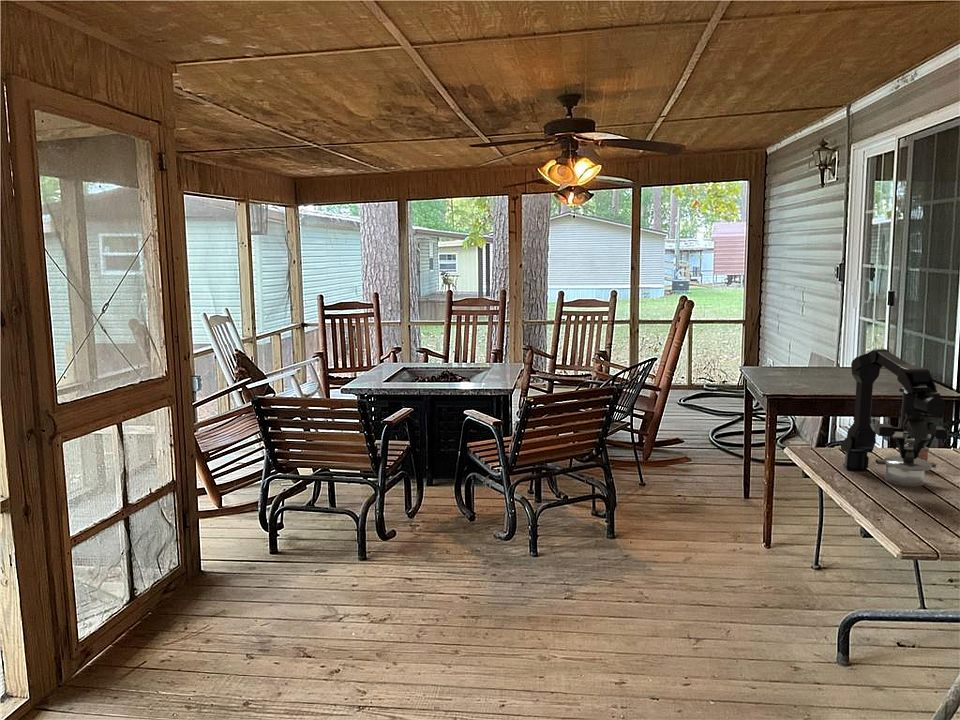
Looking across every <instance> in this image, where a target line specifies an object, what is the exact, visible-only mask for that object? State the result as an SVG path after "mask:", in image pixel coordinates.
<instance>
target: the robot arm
mask: <svg viewBox="0 0 960 720" xmlns="http://www.w3.org/2000/svg"><path fill="white" fill-rule="evenodd" d="M850 366H851V375H852V377H853V378H854V380H855V383H856V384H855V385H856V388H855V398H854V399H855V401H854V414H853V416H854V417H853V423H851V424H852V425H850V427H849V428H848V430H847V435H846V437H845V438H844V440H842V441H841V443H840V450H841V451H842V452H844V453H845V454H844V455H845V456H844V463H843V464H842V466H843V467H844V468H845V469H846V471H851V472H852V471H853V472H854V471H856V472H868V471H869V470H868V469H869V462H870V461H869V460H870V458H869V456H868V453H870V454H872V453H873V451H874V448H875V446H876V445H875V444H876V443H877V439H876V437H877V436H880V437H887V438H888V437H889V438H890V437H891V438H892V439H893V440H894V441H895V443H896V447H897V449H898V452H899V456H901V458H904V445H905V439H906V438H905V437H904V435H908V437H909V438H910V439H914V440H915V441H914V449H915V456H914V459H916V458H917V456H918V454H919V452H920V451H921V449H922V447H923V446H924V444H925V445H926V443H928V442H932V440H933V439H932V438H931V437H932V436H933V437H934V438H935V439H936V440H949V434H950V433H949V431H948V430H947V429H946V428H945V427H943V426H940V425H939V426H938V425H937V423H936V422H934V421H926V420H925V419H926V418H925V416H926V415H928V416H931V417H934V418H935V417H940V416H941V415H943V414H944V413H945V411H946V408H947V404H946V402H945V400H944V399H943V398H941V393H939V392H938V389H937V385H936V384H935V382H934V379H933V377H932V375H931V372H930V370H929V369H928V368H926V367H923V366H920V365H915V364H913V365H912V364H910V363H908V362H906V361H904V360H903V359H901V358H899V356H896V355H895V354H893V353H892V352H891V351H890V350H889V349H886V348H879V349H878V348H877V349H876V348H874V349H871V350H870V351H868V352H866V353H863V354H862V355H858V356H856V357H855V358H854V359H852V360H851V364H850ZM882 368H884V369H886V370H887V371H889V372H890V373H892V374H894V375H895V376H896V380H897V381H898V383H900V384H901V386H902V387H901V388H899V389H898V392H900V393H902V400H901V401H902V403H901V409H900V411H899V414H900V422H899V425H898V427H895V426H893V425H891V424H890V423H876V424H875V426H874V429H873V428H872V426H871V415H872V414H871V413H872V406H873V405H872V401H873V387H874V383H875V382H876V380H877V379H878V378H879V377H880V372H881V369H882ZM925 414H926V415H925ZM924 447H925V446H924Z"/></svg>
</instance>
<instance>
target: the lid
mask: <svg viewBox="0 0 960 720" xmlns="http://www.w3.org/2000/svg"><path fill="white" fill-rule="evenodd" d="M914 456H915V449H912V448H904V458H901V455H889V456H886V457H885V458H884V460H885V463H886V464H887V465H889V466H891V467H894V468H898V469H903V470H910V471H925V472H926V471H931V470H932V469H933V468H932V464H931V463H930V461H929V460H927V461H926V460H923V459H919V458H916V459H914Z"/></svg>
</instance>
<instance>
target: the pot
mask: <svg viewBox="0 0 960 720" xmlns="http://www.w3.org/2000/svg"><path fill="white" fill-rule="evenodd" d="M929 462H930V461H929ZM875 463H876V464H877V465H884V466H885V470H884V480H885V482H888V483H891V484H894V485H898V486H903V487H911V488H912V487H921V486H923V485H924V484H925V473H926V471H910V470H903V469H898V468H894V467H891V466H889V465H887V464H886V463H885V459H878V458H877V459H876V458H875ZM930 463H931V464H932V469H934V468H937V464H936V463H935V462H932V461H931V462H930Z"/></svg>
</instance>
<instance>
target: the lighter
mask: <svg viewBox="0 0 960 720" xmlns="http://www.w3.org/2000/svg"><path fill="white" fill-rule="evenodd" d="M914 441H915V439H914V438H905V442H904V448H912V449H914ZM929 451H930V448H929V447H927V446H926V443H925V444H924V446H923V447H922V449H921V451H920V452H919V454H918V456H917V458H919V459H923V460H926V461H928V458H929Z"/></svg>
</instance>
